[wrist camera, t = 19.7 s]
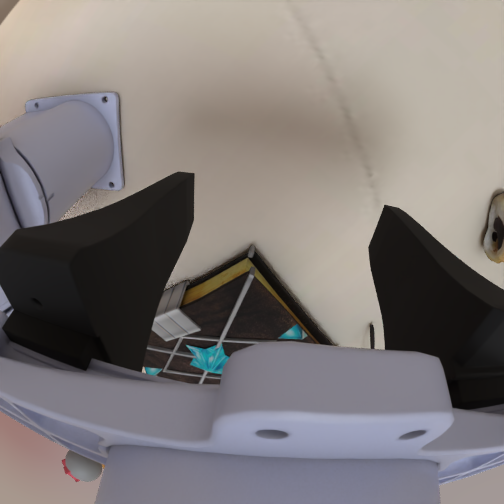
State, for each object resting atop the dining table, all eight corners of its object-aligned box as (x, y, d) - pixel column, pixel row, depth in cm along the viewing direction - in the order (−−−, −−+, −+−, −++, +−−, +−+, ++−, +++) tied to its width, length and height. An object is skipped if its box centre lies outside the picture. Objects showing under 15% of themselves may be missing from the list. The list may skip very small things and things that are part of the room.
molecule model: (93, 462, 33) (61, 476, 30) (152, 507, 42) (127, 519, 39) (65, 369, 52) (42, 381, 49) (111, 428, 61) (91, 438, 58)
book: (196, 383, 42) (190, 413, 38) (106, 313, 34) (90, 346, 30) (340, 346, 33) (343, 385, 29) (258, 239, 25) (251, 283, 21)
